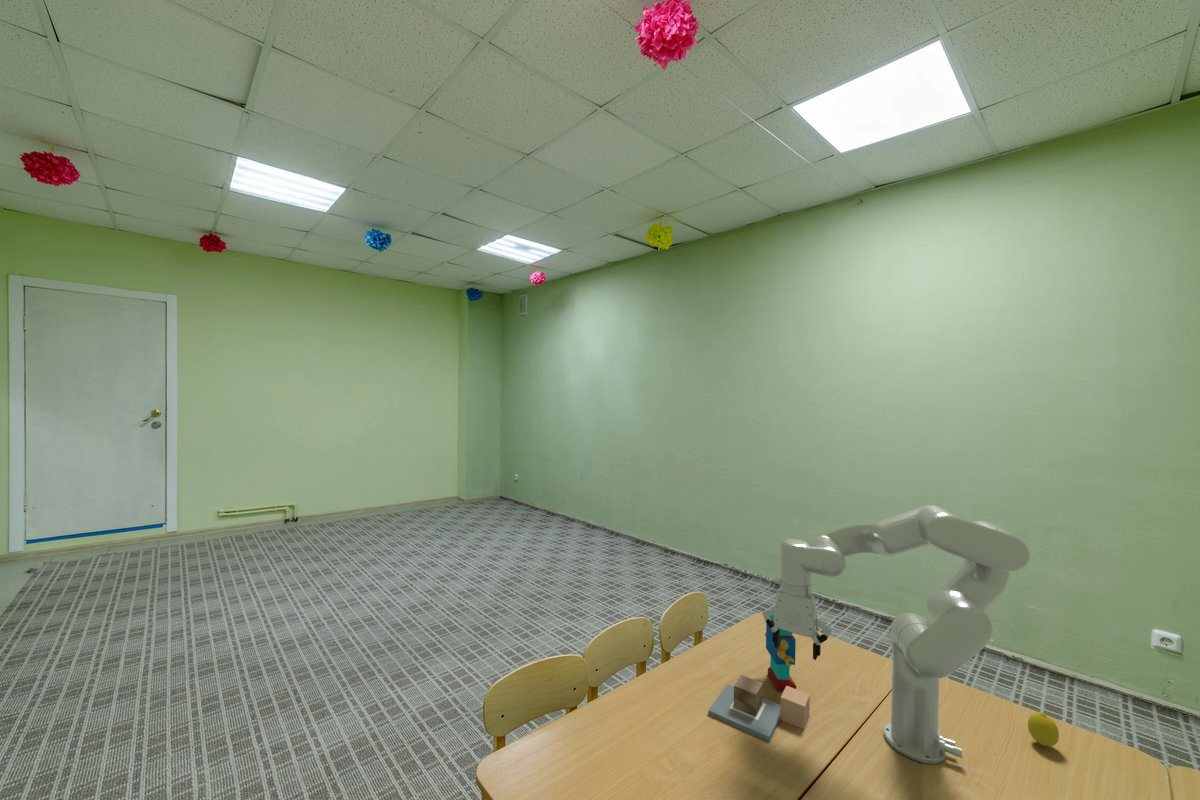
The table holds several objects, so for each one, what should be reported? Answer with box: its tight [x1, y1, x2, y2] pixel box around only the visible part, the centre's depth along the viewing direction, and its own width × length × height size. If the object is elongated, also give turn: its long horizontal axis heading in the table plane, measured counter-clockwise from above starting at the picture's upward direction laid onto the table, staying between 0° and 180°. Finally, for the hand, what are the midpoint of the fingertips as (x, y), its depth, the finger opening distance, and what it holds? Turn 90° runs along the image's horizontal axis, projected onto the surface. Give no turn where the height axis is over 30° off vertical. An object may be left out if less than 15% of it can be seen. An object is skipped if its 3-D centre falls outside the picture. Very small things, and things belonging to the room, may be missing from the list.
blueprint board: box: [707, 683, 781, 742], centre depth 123 cm, size 16×14×1 cm
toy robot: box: [764, 608, 797, 692], centre depth 136 cm, size 12×6×25 cm, turn 179°
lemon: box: [1027, 712, 1060, 747], centre depth 112 cm, size 6×6×8 cm
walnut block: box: [733, 674, 764, 717], centre depth 124 cm, size 6×6×6 cm
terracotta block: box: [780, 686, 811, 730], centre depth 121 cm, size 6×6×6 cm
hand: (795, 651), depth 121 cm, fingers open, 9 cm apart
